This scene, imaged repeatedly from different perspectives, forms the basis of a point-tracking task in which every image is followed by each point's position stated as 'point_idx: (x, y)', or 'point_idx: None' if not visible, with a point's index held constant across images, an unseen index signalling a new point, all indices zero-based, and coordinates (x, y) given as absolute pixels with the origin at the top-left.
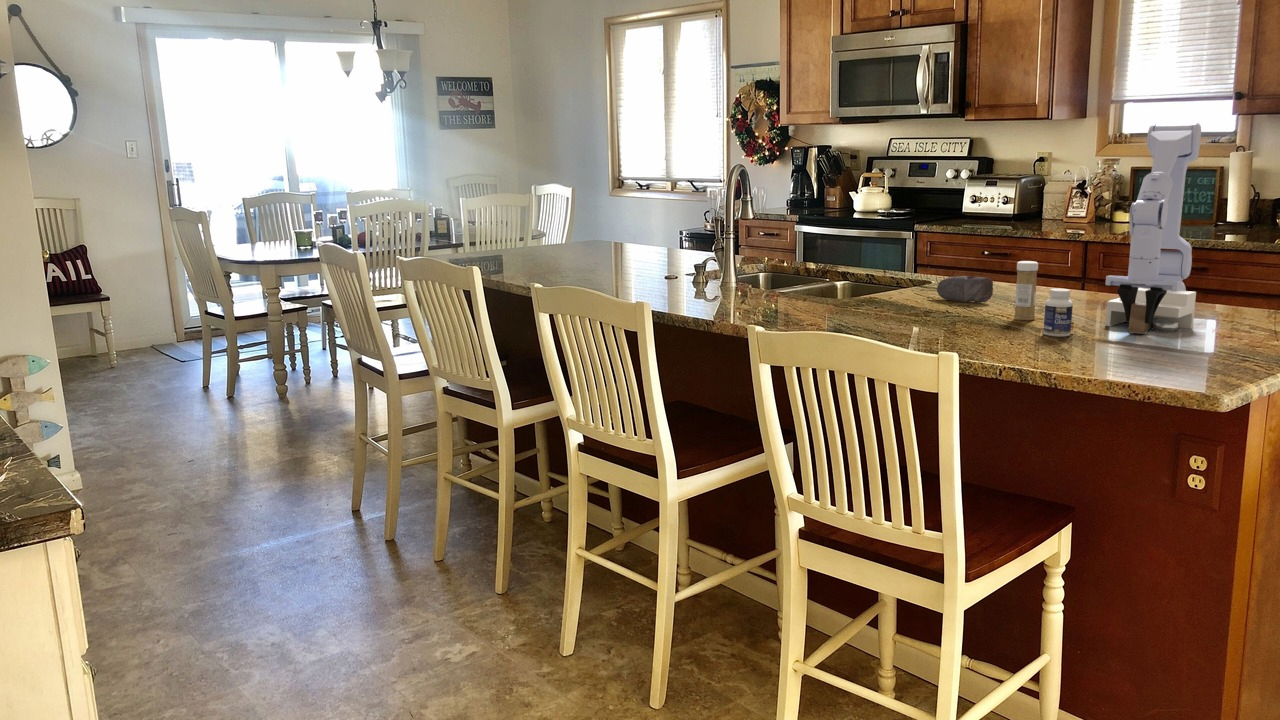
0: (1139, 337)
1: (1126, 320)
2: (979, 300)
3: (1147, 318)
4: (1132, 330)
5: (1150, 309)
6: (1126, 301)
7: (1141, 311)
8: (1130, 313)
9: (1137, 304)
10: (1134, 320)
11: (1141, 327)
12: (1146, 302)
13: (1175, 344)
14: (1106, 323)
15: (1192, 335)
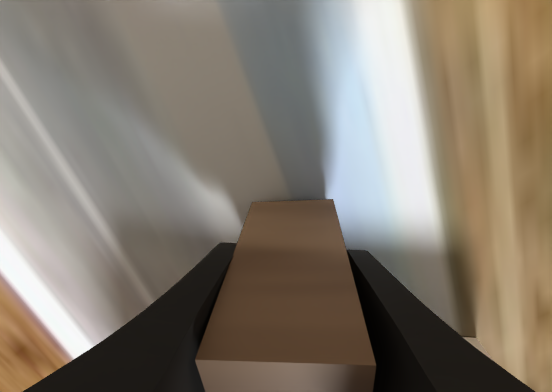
0: (253, 154)
1: (367, 252)
2: None
3: (211, 256)
4: (309, 205)
5: (153, 307)
6: (461, 386)
7: (256, 299)
8: (351, 276)
9: (307, 374)
10: (306, 239)
11: (259, 218)
12: (153, 376)
13: (16, 68)
14: (479, 346)
15: (118, 324)
